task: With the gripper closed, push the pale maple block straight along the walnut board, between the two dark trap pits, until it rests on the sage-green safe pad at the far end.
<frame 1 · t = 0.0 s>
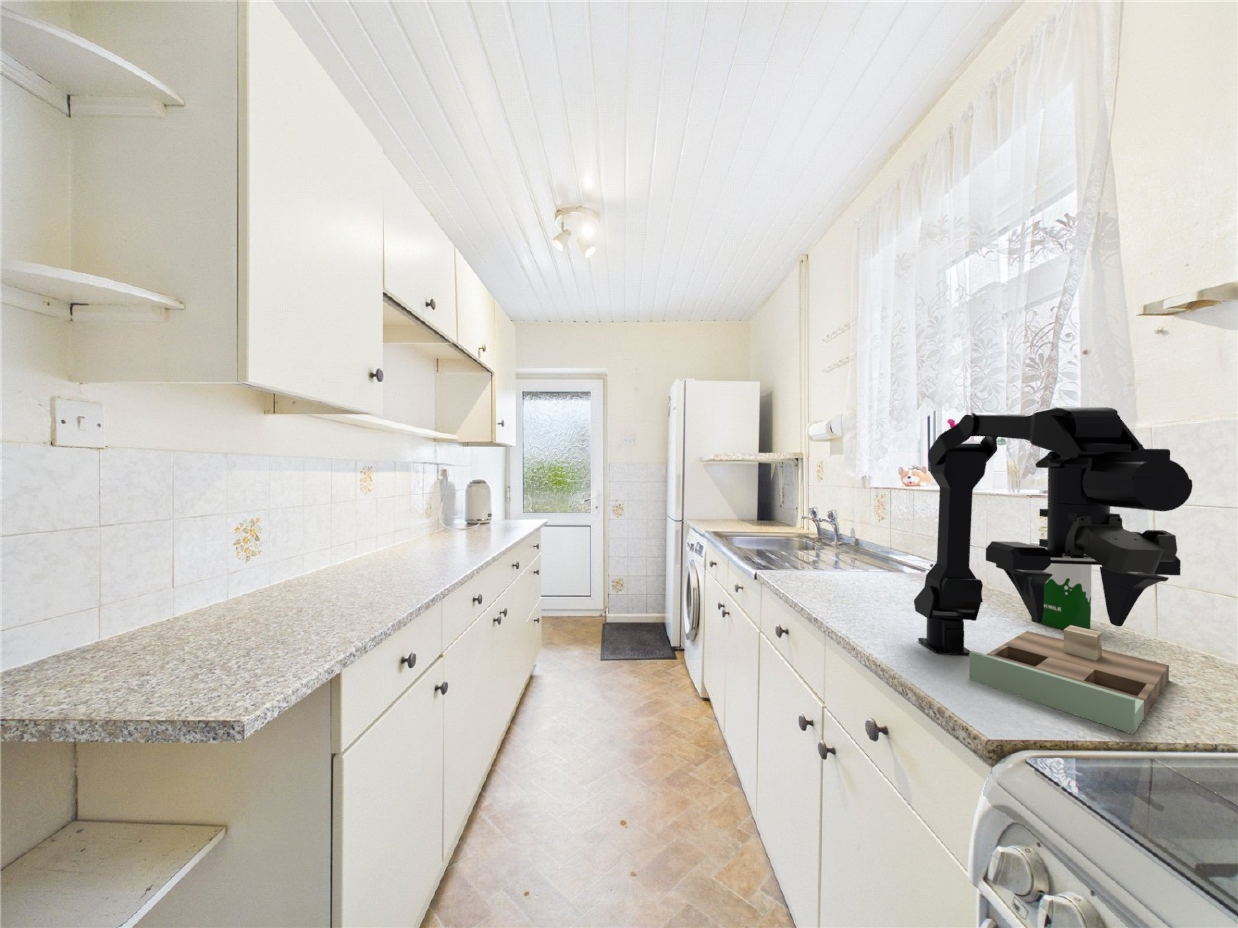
hand: (1076, 623, 59), 15 cm above the worktop, tool pointing down, fingers open, 9 cm apart
maple block: (1082, 653, 79), point 2 cm above the worktop, touching trap board
milk carton: (1059, 625, 101), on the worktop
safe pad: (1050, 696, 69), on the worktop
trap board: (1069, 679, 75), on the worktop
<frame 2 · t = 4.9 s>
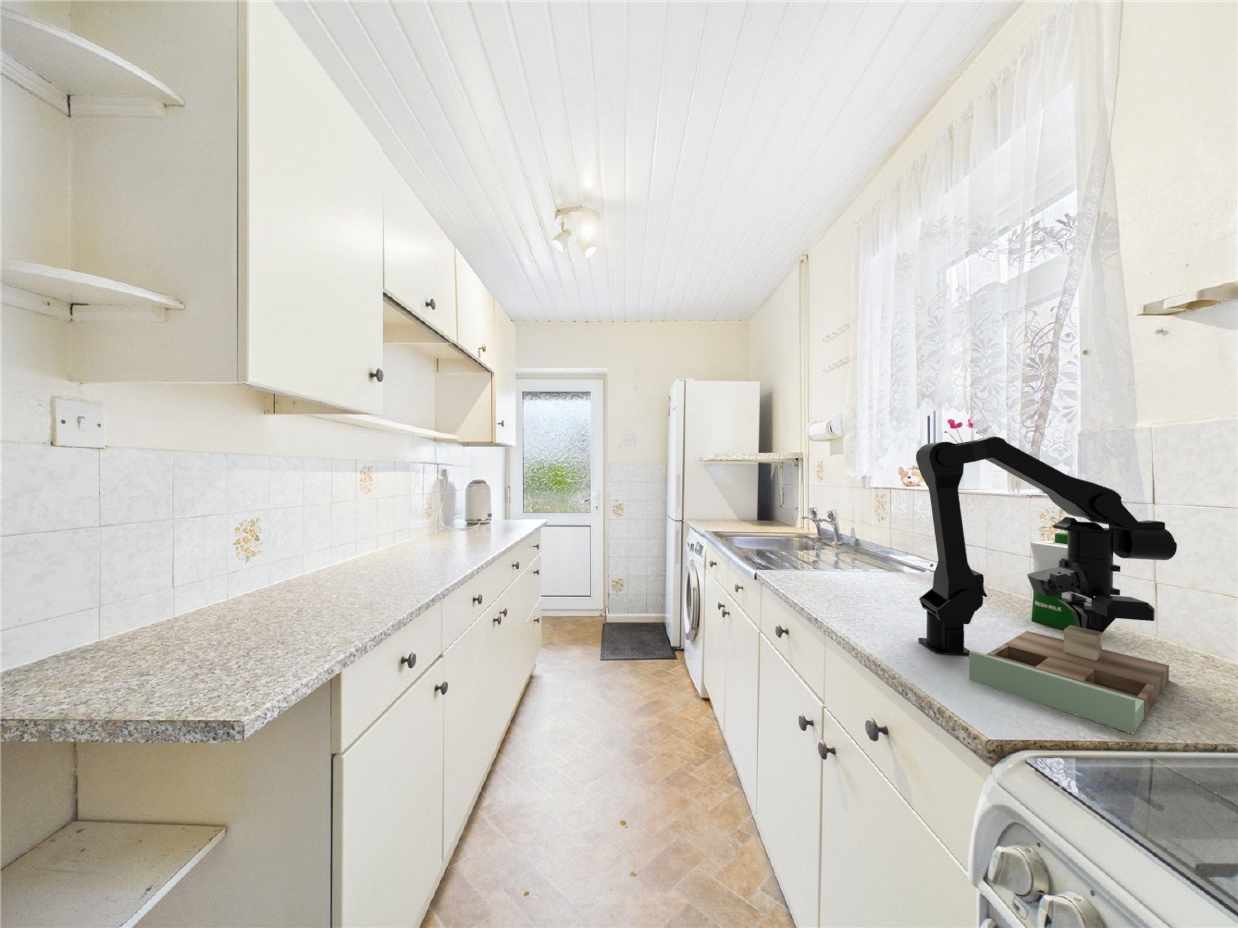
hand: (1088, 643, 81), 3 cm above the worktop, tool pointing down, fingers closed
maple block: (1082, 653, 79), point 2 cm above the worktop, touching gripper, trap board
everything else where it was.
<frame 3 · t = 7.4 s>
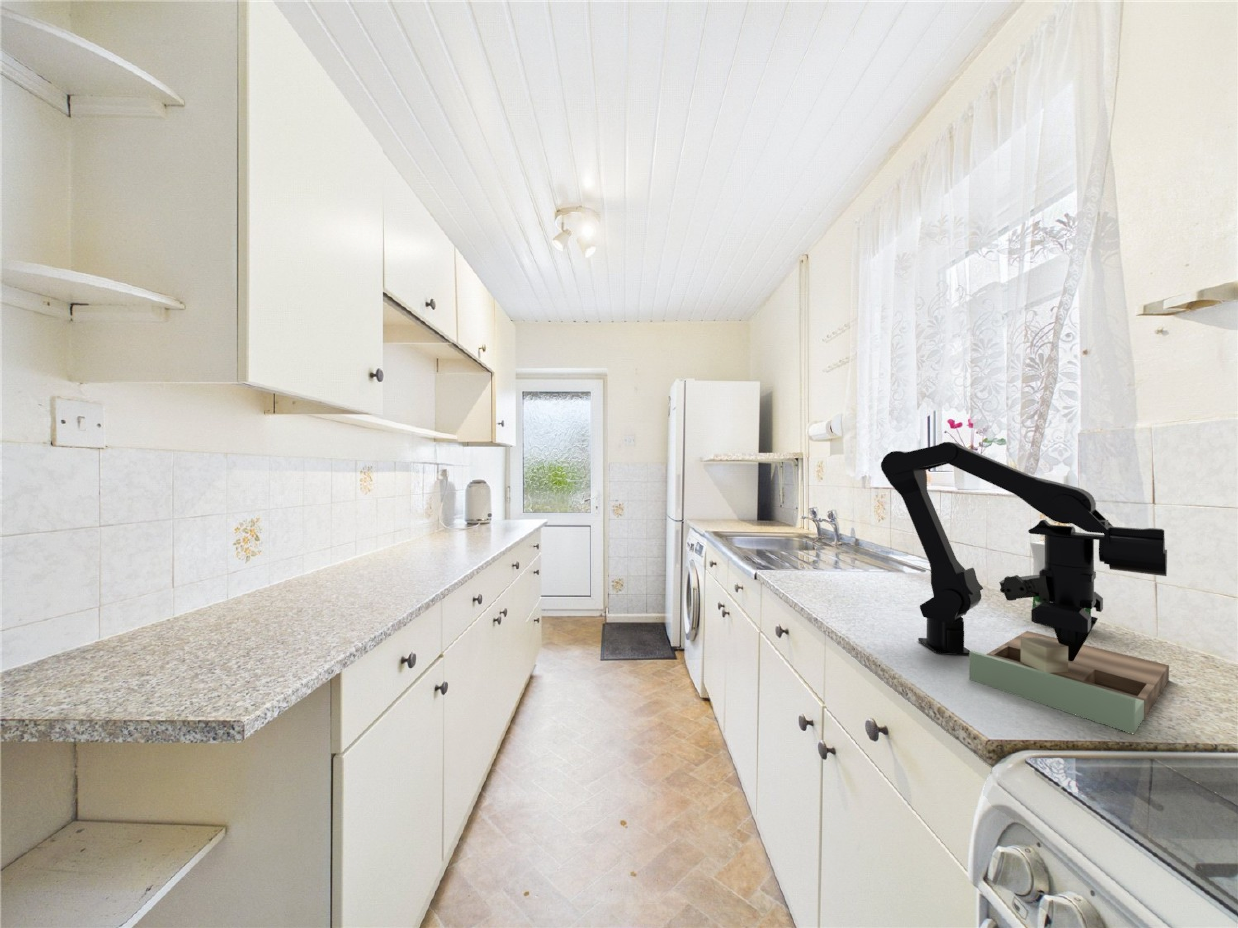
hand: (1068, 659, 74), 4 cm above the worktop, tool pointing down, fingers closed
maple block: (1043, 666, 74), point 3 cm above the worktop, touching gripper
everything else where it was.
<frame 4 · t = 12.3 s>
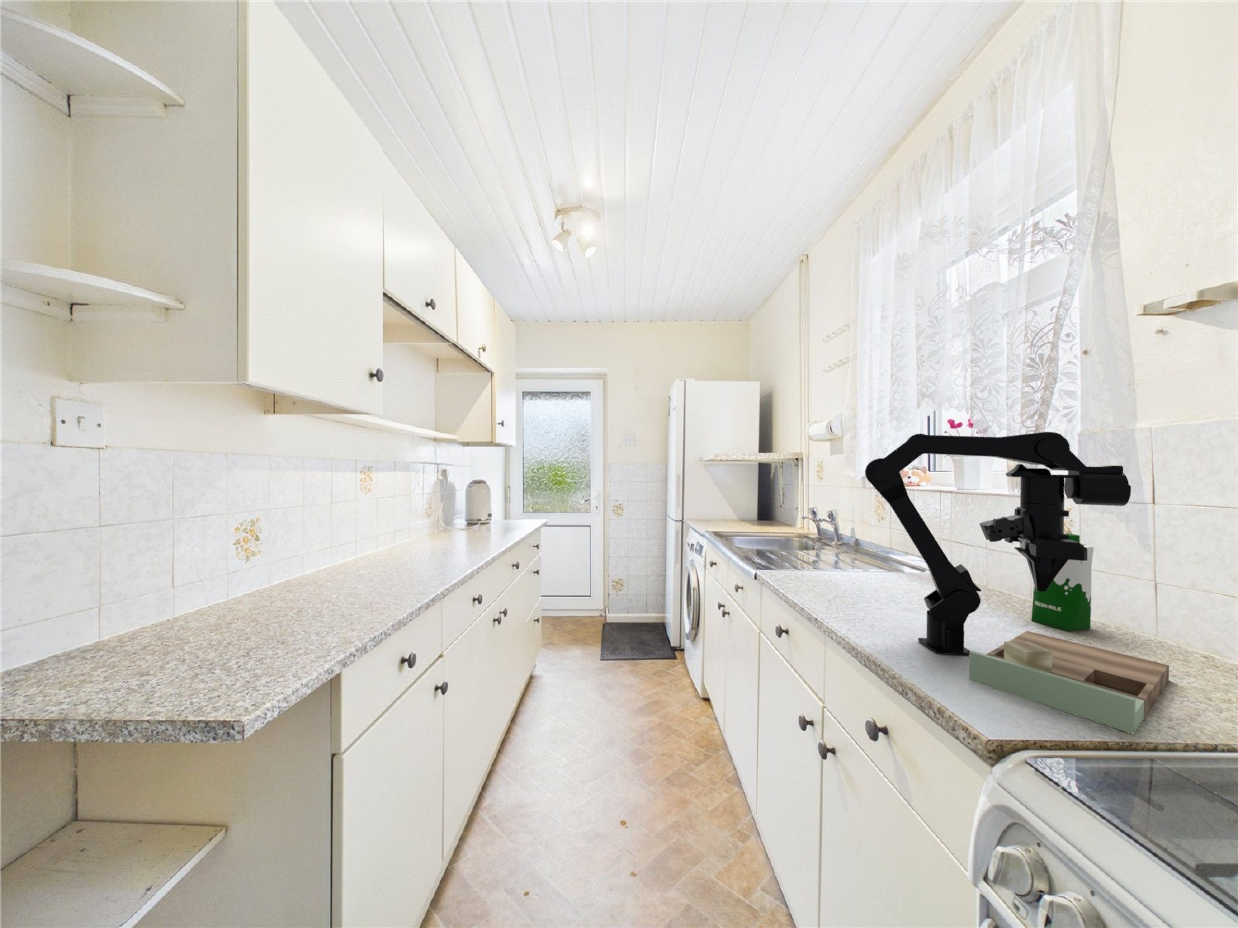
hand: (1040, 590, 80), 13 cm above the worktop, tool pointing down, fingers closed
maple block: (1027, 671, 72), point 2 cm above the worktop, touching safe pad, trap board
everything else where it was.
at the end: maple block 3.0 cm from the safe pad (horizontally); maple block point 2.5 cm above the worktop; maple block tilted 0° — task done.
